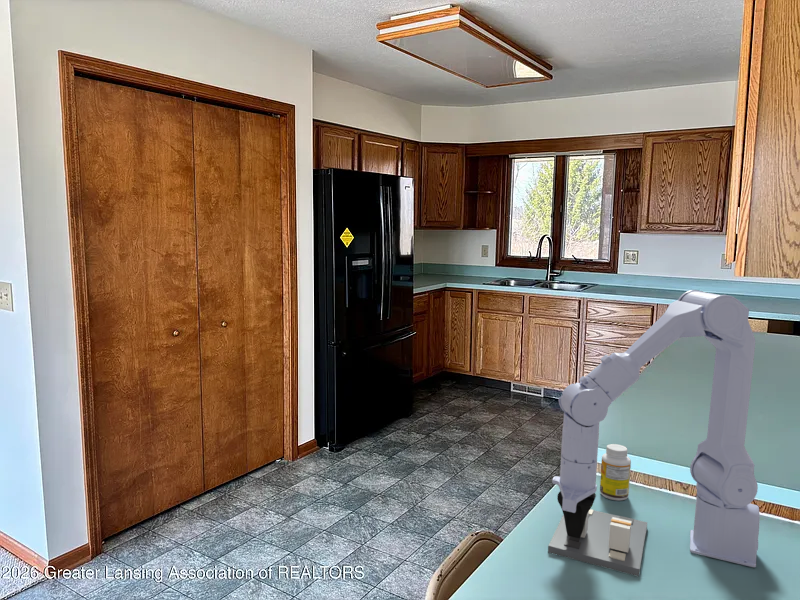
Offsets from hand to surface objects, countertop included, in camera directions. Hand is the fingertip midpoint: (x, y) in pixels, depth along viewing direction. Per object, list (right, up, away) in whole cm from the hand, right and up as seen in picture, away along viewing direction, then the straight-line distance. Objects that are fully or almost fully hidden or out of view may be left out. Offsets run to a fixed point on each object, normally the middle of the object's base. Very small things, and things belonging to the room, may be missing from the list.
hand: (574, 535), depth 97 cm
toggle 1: (+1, -1, +3) cm, 3 cm away
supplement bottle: (+14, -1, +21) cm, 26 cm away
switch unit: (+5, -2, +3) cm, 7 cm away
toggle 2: (+7, -1, -2) cm, 7 cm away
